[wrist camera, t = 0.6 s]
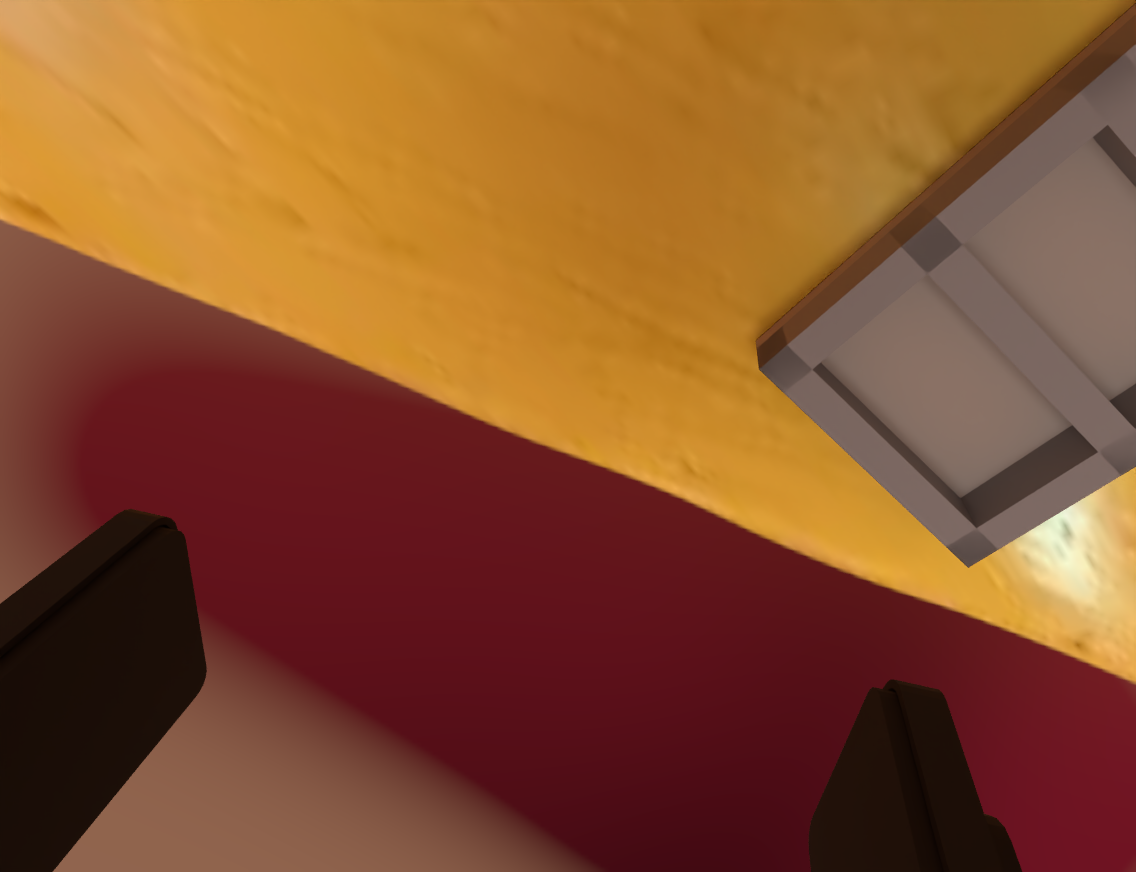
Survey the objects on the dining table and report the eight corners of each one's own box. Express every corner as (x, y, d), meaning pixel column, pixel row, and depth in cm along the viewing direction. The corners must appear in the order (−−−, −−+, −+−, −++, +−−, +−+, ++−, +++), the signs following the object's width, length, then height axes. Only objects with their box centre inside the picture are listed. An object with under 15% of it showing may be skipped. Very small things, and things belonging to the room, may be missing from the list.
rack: (1287, -132, 24) (1371, -159, 21) (1505, 166, 26) (1608, 182, 23) (755, 340, 34) (759, 369, 31) (947, 524, 36) (968, 567, 33)
